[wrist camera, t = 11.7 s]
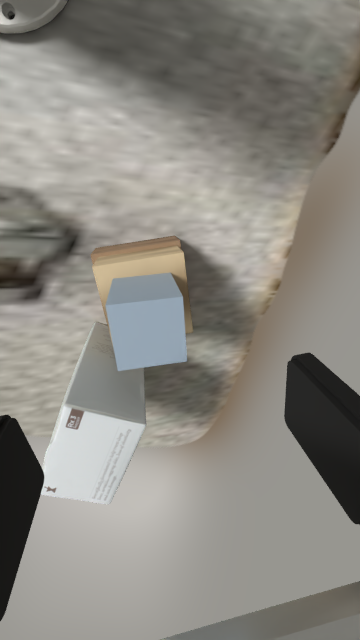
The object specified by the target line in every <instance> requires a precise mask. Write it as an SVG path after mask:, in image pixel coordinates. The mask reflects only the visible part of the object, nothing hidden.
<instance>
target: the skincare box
mask: <svg viewBox="0 0 360 640" xmlns="http://www.w3.org/2000/svg"><path fill="white" fill-rule="evenodd" d="M145 427H146V411H145V381H144V368H137V369H130V370H123V371H118V369H117V364H116V359H115V353H114V348H113V344H112V340H111V337H110V333H109V329H108V326H107V325H104V324H101V323H98V322H95V323H94V325H93V327H92V329H91V331H90V333H89V335H88V338H87V340H86V343H85V345H84V347H83V350H82V353H81V355H80V358H79V360H78V363H77V365H76V368H75V370H74V373H73V376H72V378H71V381H70V384H69V386H68V389H67V392H66V394H65V397H64V400H63V403H62V406H61V409H60V412H59V415H58V418H57V422H56V425H55V428H54V431H53V434H52V438H51V441H50V444H49V447H48V449H47V450H46V453H45V458H44V462H43V465H42V467H41V468H42V470H43V472H44V484H43V488H42V491H41V494H40V495H46V496H53V497H59V498H67V499H76V500H82V501H88V502H94V503H100V504H110V503H111V501H112V499H113V497H114V495H115V493H116V490H117V488H118V486H119V484H120V482H121V480H122V478H123V476H124V474H125V472H126V469H127V467H128V465H129V463H130V461H131V458H132V456H133V454H134V452H135V449H136V447H137V445H138V443H139V441H140V438H141V436H142V434H143V432H144V429H145Z"/></svg>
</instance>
